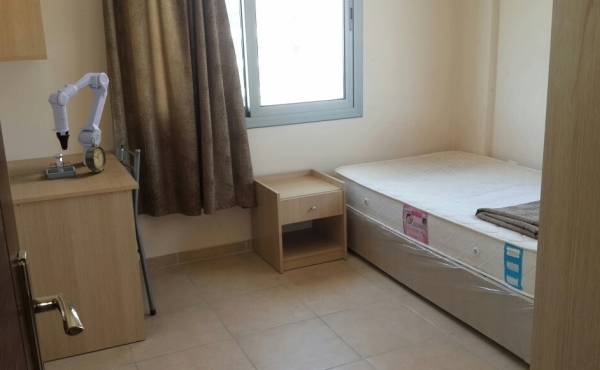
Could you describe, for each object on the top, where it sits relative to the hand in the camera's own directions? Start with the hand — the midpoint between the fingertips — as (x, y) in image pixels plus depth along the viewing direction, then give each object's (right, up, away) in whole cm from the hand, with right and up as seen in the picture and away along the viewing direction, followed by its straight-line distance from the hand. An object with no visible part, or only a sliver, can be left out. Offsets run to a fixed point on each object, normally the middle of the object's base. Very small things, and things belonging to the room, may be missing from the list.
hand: (64, 148), depth 290 cm
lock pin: (+1, -12, -7) cm, 14 cm away
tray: (+1, -13, -8) cm, 15 cm away
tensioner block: (-3, -10, +3) cm, 11 cm away
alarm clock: (+16, -11, -3) cm, 20 cm away
